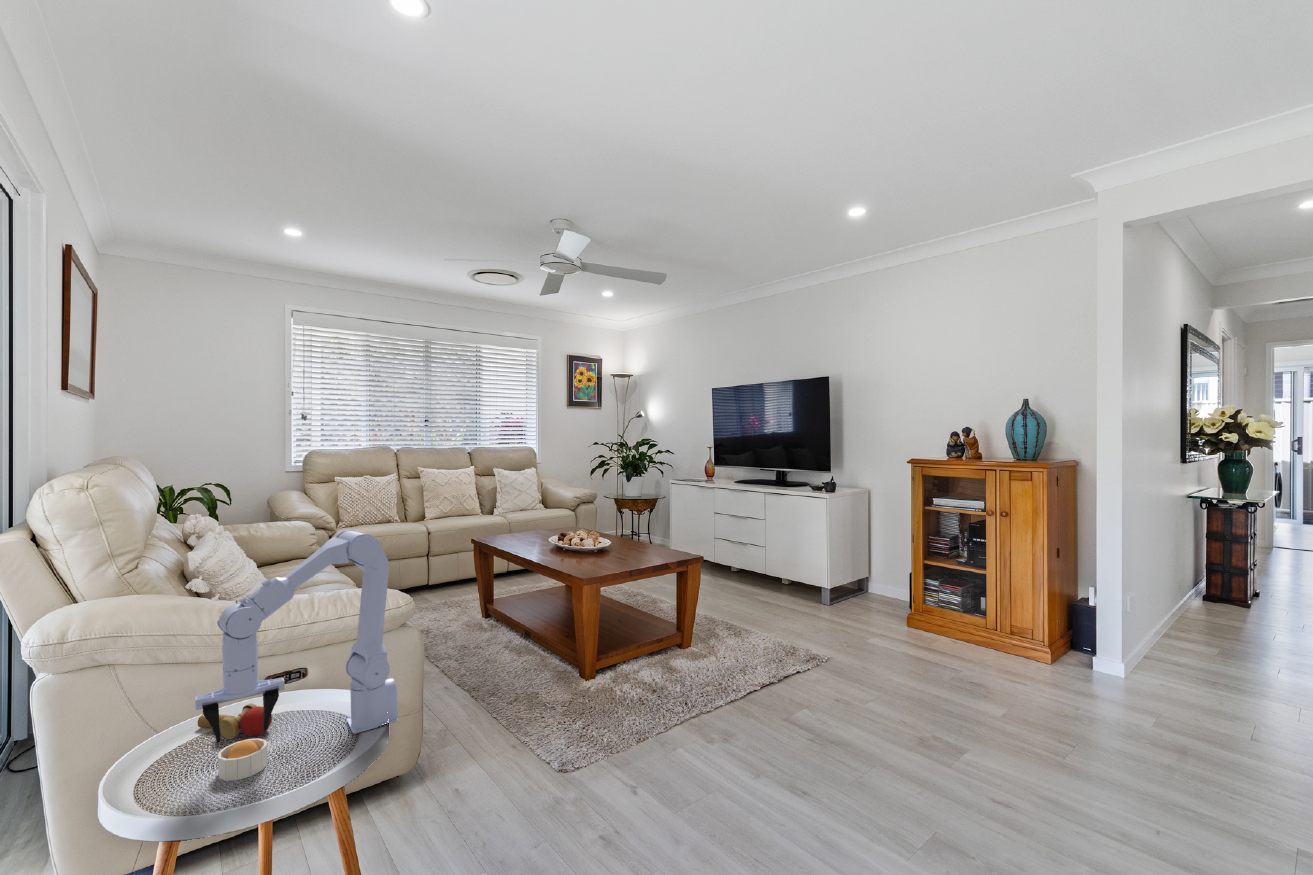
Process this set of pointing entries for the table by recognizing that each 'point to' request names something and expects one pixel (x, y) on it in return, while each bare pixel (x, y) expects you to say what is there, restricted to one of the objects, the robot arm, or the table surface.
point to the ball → (242, 749)
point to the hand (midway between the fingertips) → (242, 734)
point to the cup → (242, 762)
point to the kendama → (240, 722)
